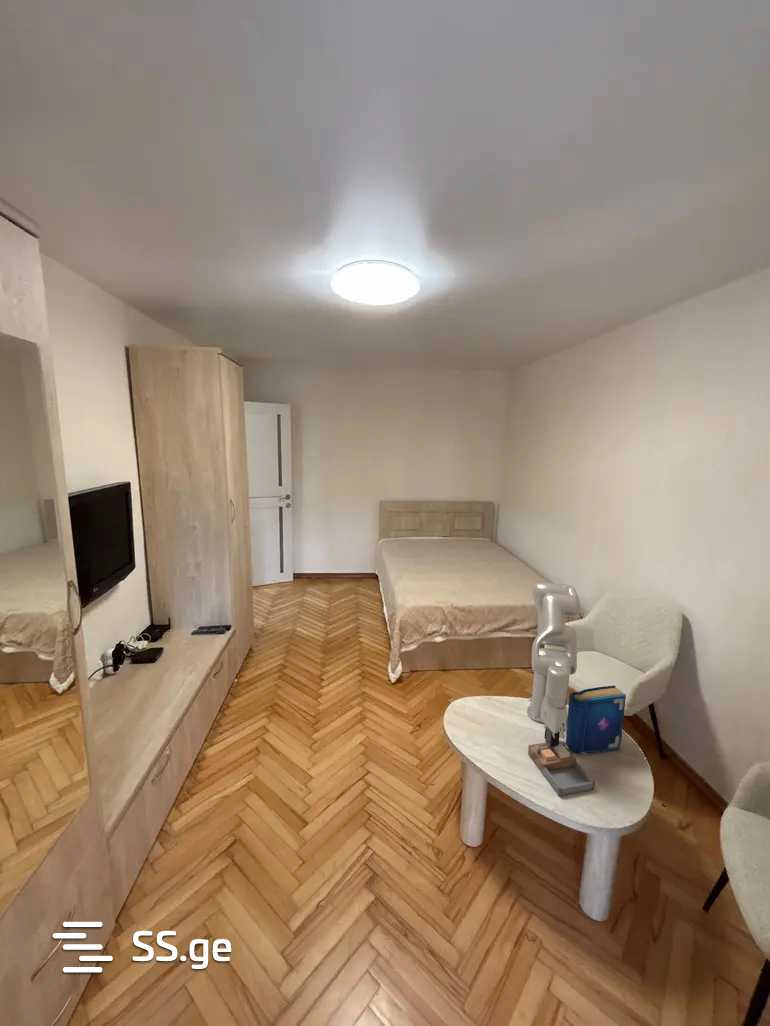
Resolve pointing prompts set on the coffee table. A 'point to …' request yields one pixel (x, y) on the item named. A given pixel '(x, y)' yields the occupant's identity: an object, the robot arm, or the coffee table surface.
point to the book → (595, 720)
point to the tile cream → (561, 752)
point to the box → (569, 780)
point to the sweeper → (548, 740)
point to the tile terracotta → (547, 754)
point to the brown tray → (550, 764)
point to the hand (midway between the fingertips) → (551, 741)
